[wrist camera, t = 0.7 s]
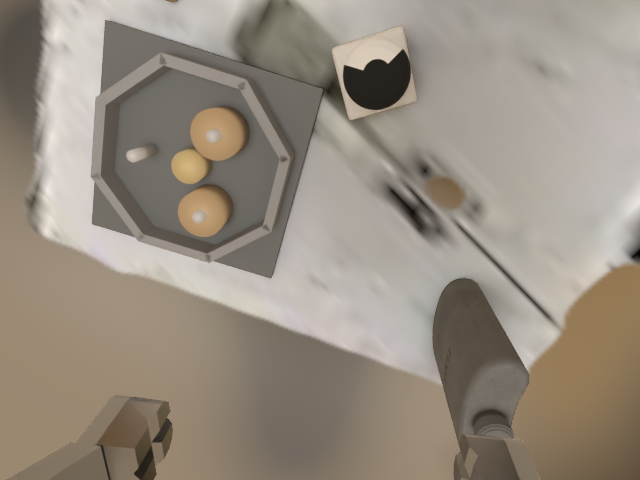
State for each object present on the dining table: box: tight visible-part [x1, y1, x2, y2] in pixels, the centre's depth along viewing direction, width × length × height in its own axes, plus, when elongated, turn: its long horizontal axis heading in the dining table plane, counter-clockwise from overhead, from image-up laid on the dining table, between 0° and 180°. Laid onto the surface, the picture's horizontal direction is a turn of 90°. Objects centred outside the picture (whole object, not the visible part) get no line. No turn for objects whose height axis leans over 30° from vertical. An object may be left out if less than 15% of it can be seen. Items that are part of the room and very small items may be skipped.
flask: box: [433, 279, 529, 451], centre depth 48 cm, size 15×6×20 cm, turn 0°
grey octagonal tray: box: [91, 20, 324, 278], centre depth 49 cm, size 26×26×6 cm
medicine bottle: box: [332, 26, 417, 120], centre depth 40 cm, size 7×7×12 cm
